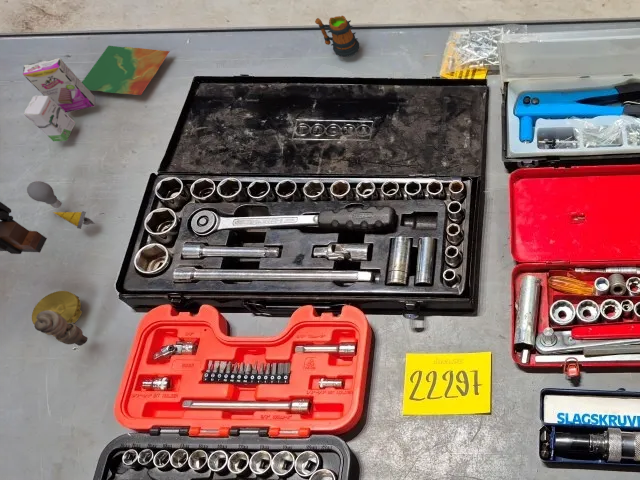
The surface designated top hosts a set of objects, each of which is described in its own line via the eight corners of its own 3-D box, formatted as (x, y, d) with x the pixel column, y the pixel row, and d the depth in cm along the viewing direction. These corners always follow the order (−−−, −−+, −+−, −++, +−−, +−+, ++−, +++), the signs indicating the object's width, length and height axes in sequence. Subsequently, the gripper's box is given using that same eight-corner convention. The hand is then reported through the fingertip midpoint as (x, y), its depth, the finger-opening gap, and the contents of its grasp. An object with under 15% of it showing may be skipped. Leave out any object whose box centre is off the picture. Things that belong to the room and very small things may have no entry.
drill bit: (91, 234, 161) (49, 223, 155) (93, 227, 165) (52, 216, 159) (96, 219, 160) (54, 207, 154) (98, 212, 164) (56, 200, 157)
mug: (362, 38, 197) (353, 8, 187) (358, 57, 193) (348, 28, 182) (327, 38, 197) (316, 9, 187) (322, 57, 193) (311, 28, 183)
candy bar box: (62, 114, 183) (21, 75, 168) (62, 104, 185) (22, 64, 170) (95, 107, 184) (58, 67, 170) (96, 97, 186) (59, 56, 172)
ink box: (67, 141, 178) (38, 114, 167) (52, 141, 178) (22, 114, 167) (76, 122, 181) (48, 94, 171) (61, 122, 181) (32, 94, 171)
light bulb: (44, 209, 165) (16, 189, 156) (59, 195, 168) (32, 174, 159) (58, 216, 164) (31, 195, 155) (73, 201, 166) (47, 181, 157)
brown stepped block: (-3, 251, 142) (-30, 235, 136) (4, 237, 144) (-21, 220, 138) (40, 252, 142) (15, 236, 135) (47, 238, 144) (23, 222, 137)
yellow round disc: (35, 306, 151) (28, 302, 149) (78, 287, 153) (73, 283, 151) (41, 340, 146) (35, 337, 144) (86, 320, 148) (80, 316, 146)
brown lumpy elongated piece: (81, 331, 147) (36, 307, 133) (99, 332, 146) (56, 309, 133) (71, 350, 144) (24, 327, 131) (90, 351, 144) (45, 329, 130)
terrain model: (170, 52, 196) (169, 51, 195) (141, 96, 186) (140, 95, 186) (108, 45, 198) (107, 44, 198) (77, 88, 189) (75, 87, 188)
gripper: (-71, 220, 118) (19, 273, 139) (-31, 159, 126) (48, 217, 147) (-103, 219, 118) (-8, 272, 139) (-62, 158, 126) (22, 217, 147)
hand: (21, 244), depth 143 cm, fingers closed on brown stepped block, 4 cm apart
